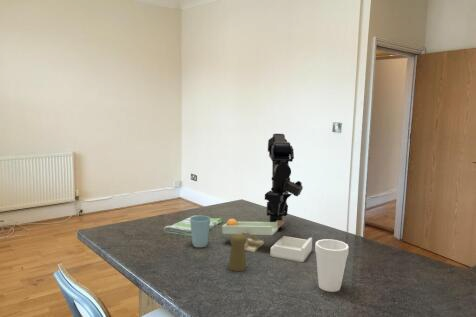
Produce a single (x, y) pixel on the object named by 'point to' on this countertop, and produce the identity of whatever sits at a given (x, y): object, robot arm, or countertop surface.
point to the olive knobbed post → (237, 253)
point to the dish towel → (189, 226)
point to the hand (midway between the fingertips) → (279, 213)
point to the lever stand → (252, 242)
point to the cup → (200, 230)
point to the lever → (253, 228)
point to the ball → (231, 222)
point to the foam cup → (330, 263)
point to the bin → (292, 248)
